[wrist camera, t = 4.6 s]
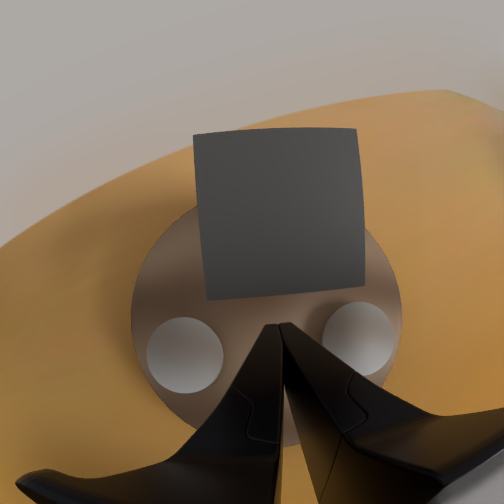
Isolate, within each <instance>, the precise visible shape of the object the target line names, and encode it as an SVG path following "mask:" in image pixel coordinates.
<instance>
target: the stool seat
mask: <svg viewBox="0 0 504 504" xmlns="http://www.w3.org/2000/svg"><path fill="white" fill-rule="evenodd" d="M284 322H292V323H293V324H294V325H296V326H297V327H298V328H300V329H301V330H302V331H304V332H305V333H306V334H307V335H309V336H310V337H311V338H313V339H314V340H315V341H317V342H318V343H319V344H321V345H322V346H323V347H325V348H326V349H327V350H329V351H330V352H331V353H333V354H334V355H335V356H337V357H338V358H339V359H341V360H342V361H343V362H345V363H346V364H347V365H349V366H350V367H352V368H353V369H354V370H355V371H357V372H359V373H360V374H361V375H363V376H364V377H365V378H367V379H368V380H370V381H371V382H373V383H374V384H376V385H377V386H379V387H381V386H382V385H383V383H384V381H385V379H386V378H387V376H388V374H389V372H390V370H391V367H392V365H393V362H394V360H395V357H396V354H397V350H398V346H399V342H400V336H401V327H402V307H401V299H400V293H399V288H398V285H397V281H396V278H395V275H394V272H393V270H392V268H391V265H390V263H389V261H388V259H387V257H386V255H385V254H384V252H383V251H382V249H381V247H380V246H379V244H378V243H377V242H376V240H375V239H374V238H373V237H372V235H371V234H370V233H369V232H368V231H367V230H366V229H365V286H362V287H354V288H345V289H337V290H328V291H318V292H309V293H299V294H288V295H277V296H266V297H253V298H240V299H226V300H210V301H207V296H206V288H205V279H204V270H203V261H202V251H201V241H200V230H199V219H198V207H197V206H196V207H195V208H193V209H191V210H190V211H188V212H187V213H185V214H184V215H183V216H181V217H180V218H179V219H178V220H177V221H175V222H174V223H173V224H172V225H171V226H170V227H169V228H168V229H167V230H166V231H165V232H164V233H163V234H162V235H161V236H160V238H159V239H158V240H157V242H156V243H155V245H154V246H153V247H152V249H151V250H150V252H149V254H148V256H147V257H146V259H145V261H144V263H143V265H142V268H141V270H140V273H139V275H138V278H137V281H136V285H135V289H134V293H133V299H132V307H131V329H132V336H133V342H134V347H135V350H136V354H137V357H138V360H139V363H140V365H141V368H142V370H143V372H144V374H145V376H146V378H147V380H148V382H149V383H150V385H151V386H152V388H153V389H154V391H155V392H156V394H157V395H158V396H159V398H160V399H161V400H162V401H163V402H164V403H165V404H166V405H167V407H168V408H169V409H170V410H171V411H173V412H174V413H175V414H176V415H177V416H178V417H180V418H181V419H182V420H183V421H184V422H186V423H187V424H189V425H191V426H192V427H194V428H195V429H198V428H199V427H200V426H201V425H202V424H203V423H204V422H205V420H206V419H207V418H208V417H209V415H210V414H211V413H212V412H213V410H214V409H215V408H216V407H217V405H218V404H219V402H220V401H221V399H222V398H223V396H224V394H225V393H226V391H227V389H228V388H229V387H230V385H231V383H232V381H233V379H234V378H235V376H236V374H237V373H238V371H239V369H240V367H241V366H242V364H243V362H244V361H245V359H246V357H247V355H248V354H249V352H250V350H251V348H252V346H253V345H254V343H255V341H256V339H257V338H258V336H259V334H260V332H261V330H262V329H263V327H264V325H265V324H274V323H276V324H279V323H284ZM298 444H301V443H300V440H299V437H298V433H297V430H296V426H295V423H294V420H293V416H292V413H291V409H290V406H289V402H288V399H287V396H286V392H285V388H284V430H283V447H287V446H292V445H298Z"/></svg>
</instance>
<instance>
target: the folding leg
mask: <svg viewBox="0 0 504 504" xmlns="http://www.w3.org/2000/svg"><path fill="white" fill-rule="evenodd" d="M193 146H194V164H195V180H196V194H197V207H198V219H199V230H200V241H201V251H202V261H203V270H204V279H205V288H206V296H207V301H210V300H226V299H240V298H253V297H266V296H277V295H288V294H299V293H309V292H318V291H328V290H337V289H345V288H354V287H362V286H365V222H364V202H363V188H362V176H361V165H360V155H359V147H358V139H357V131H356V129H350V128H268V129H250V130H236V131H225V132H215V133H206V134H197V135H193Z"/></svg>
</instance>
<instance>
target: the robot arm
mask: <svg viewBox="0 0 504 504" xmlns="http://www.w3.org/2000/svg"><path fill="white" fill-rule="evenodd" d="M284 388H285V392H286V396H287V399H288V402H289V406H290V409H291V413H292V416H293V420H294V423H295V426H296V430H297V433H298V437H299V440H300V443H301V447H302V450H303V454H304V457H305V460H306V464H307V467H308V470H309V474H310V477H311V480H312V484H313V487H314V490H315V494H316V497H317V500H318V503H319V504H504V408H499V409H494V410H488V411H483V412H476V413H469V414H462V415H453V416H438V415H434V414H431V413H428V412H426V411H423V410H421V409H420V408H418V407H416V406H414V405H412V404H410V403H408V402H406V401H404V400H402V399H400V398H399V397H397V396H395V395H393V394H391V393H389V392H388V391H386V390H384V389H383V388H381V387H379V386H377V385H376V384H374V383H373V382H371V381H370V380H368V379H367V378H365V377H364V376H363V375H361V374H360V373H359V372H357V371H355V370H354V369H353V368H352V367H350V366H349V365H347V364H346V363H345V362H343V361H342V360H341V359H339V358H338V357H337V356H335V355H334V354H333V353H331V352H330V351H329V350H327V349H326V348H325V347H323V346H322V345H321V344H319V343H318V342H317V341H315V340H314V339H313V338H311V337H310V336H309V335H307V334H306V333H305V332H304V331H302V330H301V329H300V328H298V327H297V326H296V325H294V324H293V323H292V322H284V323H279V324H276V323H274V324H265V325H264V327H263V329H262V330H261V332H260V334H259V336H258V338H257V339H256V341H255V343H254V345H253V346H252V348H251V350H250V352H249V354H248V355H247V357H246V359H245V361H244V362H243V364H242V366H241V367H240V369H239V371H238V373H237V374H236V376H235V378H234V379H233V381H232V383H231V385H230V387H229V388H228V389H227V391H226V393H225V394H224V396H223V398H222V399H221V401H220V402H219V404H218V405H217V407H216V408H215V409H214V410H213V412H212V413H211V414H210V415H209V417H208V418H207V419H206V420H205V422H204V423H203V424H202V425H201V426H200V427H199V428H198V429H197V431H196V432H195V433H194V434H193V435H192V436H191V437H190V438H189V440H188V441H187V442H186V443H185V444H184V445H183V446H182V447H181V448H180V449H179V450H178V451H177V452H176V453H175V454H174V455H173V456H171V457H170V458H168V459H167V460H165V461H163V462H160V463H157V464H154V465H150V466H147V467H143V468H140V469H136V470H132V471H128V472H124V473H120V474H116V475H112V476H107V477H102V478H89V479H85V478H77V477H73V476H69V475H66V474H63V473H60V472H58V471H55V470H51V469H42V470H38V471H33V472H30V473H27V474H25V475H23V476H22V477H20V478H19V479H18V480H17V481H16V482H15V484H16V486H17V487H18V489H20V490H21V491H22V492H23V493H24V494H25V495H26V496H28V497H29V498H30V499H32V500H33V501H34V502H36V503H37V504H281V485H282V461H283V430H284Z"/></svg>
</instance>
